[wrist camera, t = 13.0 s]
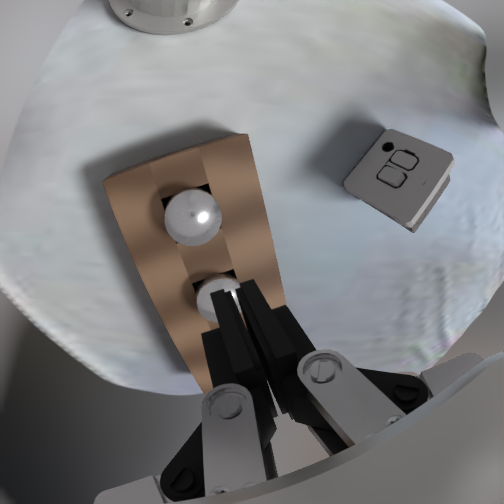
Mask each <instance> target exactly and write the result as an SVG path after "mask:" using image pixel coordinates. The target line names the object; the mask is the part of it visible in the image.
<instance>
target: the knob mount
mask: <svg viewBox="0 0 504 504" xmlns="http://www.w3.org/2000/svg"><path fill="white" fill-rule="evenodd" d="M102 182H103V185H104V188H105V190H106V193H107V196H108V199H109V201H110V204H111V207H112V209H113V212H114V215H115V217H116V220H117V222H118V225H119V227H120V230H121V232H122V235H123V237H124V240H125V242H126V244H127V247H128V249H129V251H130V254H131V256H132V258H133V261H134V263H135V265H136V267H137V270H138V272H139V274H140V276H141V278H142V280H143V283H144V285H145V287H146V289H147V291H148V293H149V295H150V297H151V299H152V301H153V303H154V305H155V307H156V309H157V311H158V313H159V315H160V317H161V319H162V321H163V323H164V325H165V327H166V329H167V331H168V332H169V334H170V336H171V338H172V340H173V342H174V344H175V345H176V347H177V349H178V351H179V353H180V354H181V356H182V358H183V360H184V361H185V363H186V365H187V366H188V368H189V370H190V372H191V373H192V375H193V377H194V378H195V380H196V382H197V383H198V385H199V386H200V388H201V390H202V391H203V393H204V394H206V393H209V392H210V391H211V390H212V389H213V385H212V381H211V377H210V373H209V369H208V364H207V360H206V356H205V351H204V347H203V342H202V338H201V333H204V332H207V331H210V330H213V329H216V328H219V324H218V322H212V321H209V320H207V319H205V318H204V317H203V316H202V315H201V314H200V312H199V310H198V307H197V302H196V291H197V287H196V285H195V282H197V281H200V280H203V279H206V278H208V277H210V276H213V275H216V274H220V273H223V272H226V271H229V270H232V273H233V276H234V278H236V279H237V280H238V281H239V282H240V283H242V282H245V281H248V280H251V279H254V280H255V282H256V284H257V285H258V287H259V289H260V291H261V292H262V294H263V296H264V297H265V299H266V301H267V303H268V304H269V306H270V308H271V309H274V308H277V307H280V306H282V305H286V301H285V296H284V291H283V287H282V282H281V277H280V272H279V268H278V263H277V259H276V254H275V249H274V245H273V240H272V236H271V231H270V227H269V222H268V218H267V214H266V209H265V205H264V200H263V196H262V192H261V187H260V183H259V179H258V175H257V170H256V166H255V162H254V158H253V154H252V149H251V145H250V141H249V137H248V134H234V135H230V136H226V137H223V138H219V139H215V140H212V141H208V142H205V143H201V144H198V145H195V146H191V147H188V148H185V149H182V150H179V151H176V152H172V153H169V154H166V155H163V156H161V157H158V158H155V159H152V160H149V161H146V162H144V163H141V164H138V165H135V166H133V167H130V168H127V169H125V170H122V171H120V172H117V173H115V174H112V175H110V176H109V177H108V178H106V179H105V180H104V181H102ZM204 184H206V186H207V190H208V193H210V194H211V195H212V196H213V197H214V199H215V200H216V202H217V203H218V205H219V207H220V209H221V213H222V221H221V226H220V228H219V230H218V232H217V234H216V235H215V236H214V237H213V238H212V239H211V240H210V241H208V242H206V243H204V244H202V245H198V246H186V245H183V244H180V243H178V242H176V241H175V240H174V239H173V238H172V237H171V236H170V235H169V233H168V232H167V229H166V226H165V209H166V206H167V205H166V202H165V199H164V198H165V197H168V196H171V195H174V194H176V193H177V192H179V191H181V190H183V189H187V188H195V187H198V186H201V185H204ZM240 314H241V317H242V319H243V321H244V318H243V315H242V312H241V313H240ZM244 324H245V321H244ZM245 326H246V324H245ZM246 329H247V328H246Z"/></svg>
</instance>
